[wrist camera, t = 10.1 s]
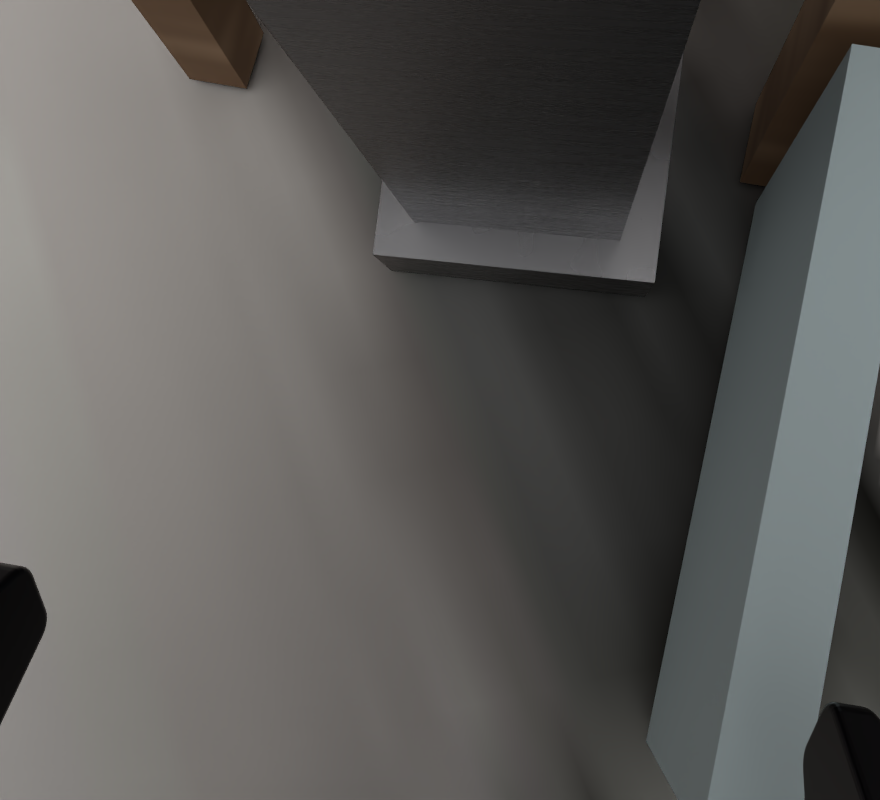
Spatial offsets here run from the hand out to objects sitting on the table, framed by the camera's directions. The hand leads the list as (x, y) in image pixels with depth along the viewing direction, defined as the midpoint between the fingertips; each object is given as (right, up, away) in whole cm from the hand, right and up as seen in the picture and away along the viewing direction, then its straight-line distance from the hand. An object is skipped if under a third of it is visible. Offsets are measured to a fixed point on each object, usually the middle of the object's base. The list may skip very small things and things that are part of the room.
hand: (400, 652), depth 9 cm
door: (+7, +1, +9) cm, 11 cm away
